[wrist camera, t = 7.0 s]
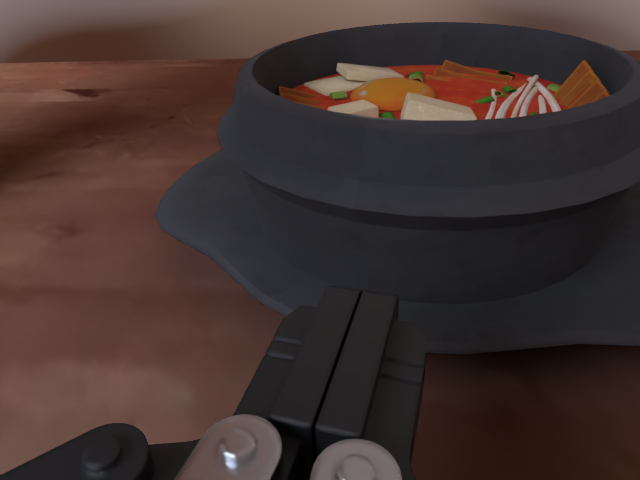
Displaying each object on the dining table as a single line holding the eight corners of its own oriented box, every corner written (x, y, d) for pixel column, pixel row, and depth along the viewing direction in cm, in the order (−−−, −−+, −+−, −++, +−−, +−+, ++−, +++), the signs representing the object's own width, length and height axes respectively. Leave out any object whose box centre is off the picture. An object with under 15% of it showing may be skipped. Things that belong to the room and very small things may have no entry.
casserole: (704, 195, 28) (771, 22, 23) (809, 522, 13) (1036, 240, 9) (276, 139, 37) (264, 7, 32) (69, 298, 22) (-4, 103, 18)
